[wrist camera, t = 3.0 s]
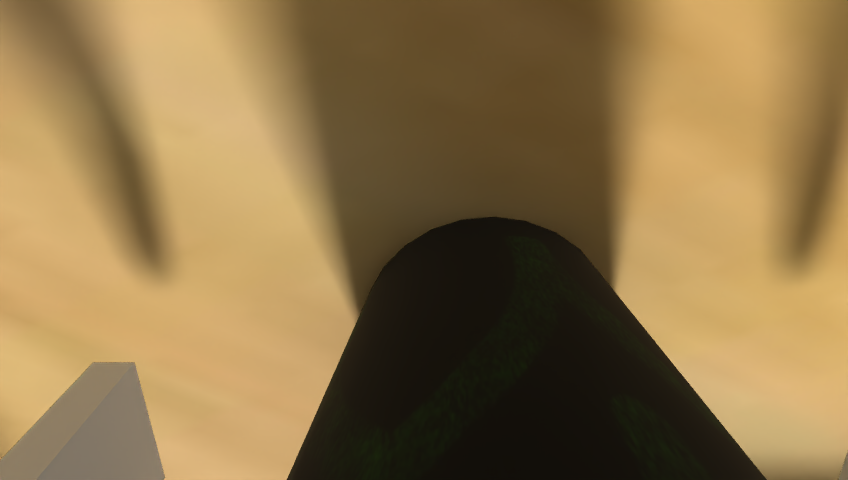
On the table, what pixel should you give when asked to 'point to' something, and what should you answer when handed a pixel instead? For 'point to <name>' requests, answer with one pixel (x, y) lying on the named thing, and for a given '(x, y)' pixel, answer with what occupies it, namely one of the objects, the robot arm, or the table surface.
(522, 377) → the cup
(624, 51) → the table surface
